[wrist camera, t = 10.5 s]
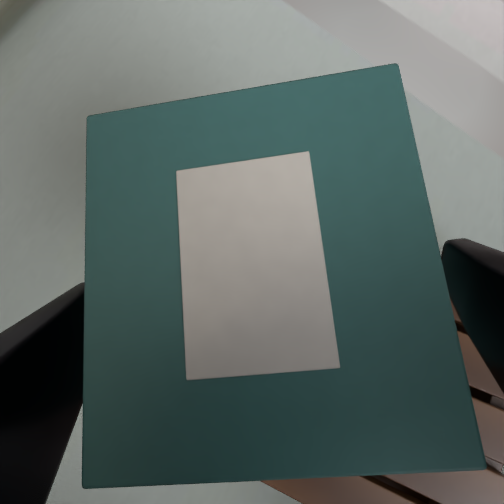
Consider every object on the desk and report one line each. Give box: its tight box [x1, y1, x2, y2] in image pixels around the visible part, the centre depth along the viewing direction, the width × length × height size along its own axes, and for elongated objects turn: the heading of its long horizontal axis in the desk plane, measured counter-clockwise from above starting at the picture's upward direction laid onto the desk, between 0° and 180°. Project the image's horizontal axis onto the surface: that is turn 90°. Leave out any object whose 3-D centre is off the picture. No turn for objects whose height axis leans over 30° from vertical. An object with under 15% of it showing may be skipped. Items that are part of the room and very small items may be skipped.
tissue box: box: [82, 64, 487, 489], centre depth 11 cm, size 7×6×11 cm
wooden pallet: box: [261, 299, 504, 504], centre depth 17 cm, size 12×16×4 cm
